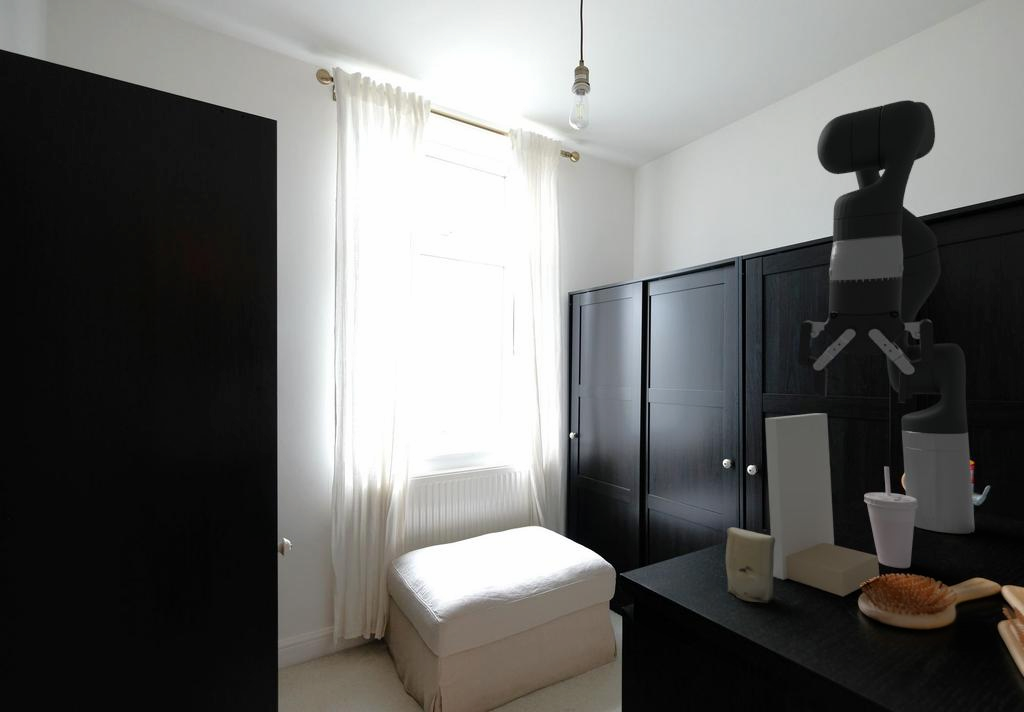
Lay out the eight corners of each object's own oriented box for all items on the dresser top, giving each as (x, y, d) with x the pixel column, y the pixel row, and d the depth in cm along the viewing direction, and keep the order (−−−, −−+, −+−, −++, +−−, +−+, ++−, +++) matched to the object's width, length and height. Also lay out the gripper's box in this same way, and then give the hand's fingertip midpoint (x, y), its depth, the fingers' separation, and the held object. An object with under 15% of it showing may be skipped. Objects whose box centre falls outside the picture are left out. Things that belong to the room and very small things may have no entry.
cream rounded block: (769, 588, 65) (766, 527, 65) (783, 606, 60) (780, 539, 60) (723, 586, 66) (721, 525, 66) (733, 603, 61) (730, 537, 61)
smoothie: (908, 557, 75) (902, 464, 75) (932, 573, 68) (925, 472, 69) (860, 554, 76) (854, 463, 77) (878, 569, 70) (872, 470, 71)
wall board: (824, 555, 76) (816, 413, 77) (889, 573, 69) (879, 415, 70) (772, 576, 69) (765, 418, 70) (839, 598, 61) (829, 421, 63)
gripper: (936, 270, 61) (929, 396, 64) (804, 277, 70) (802, 388, 72) (940, 272, 55) (932, 411, 58) (796, 280, 64) (794, 400, 66)
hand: (860, 398), depth 65 cm, fingers open, 8 cm apart
